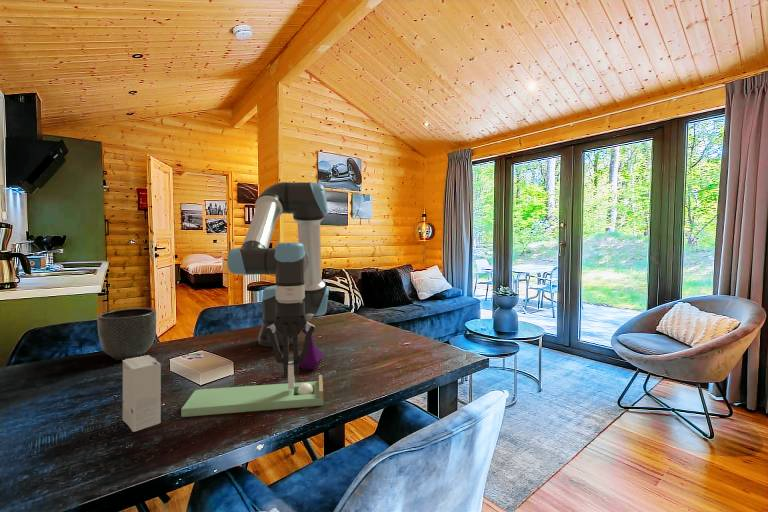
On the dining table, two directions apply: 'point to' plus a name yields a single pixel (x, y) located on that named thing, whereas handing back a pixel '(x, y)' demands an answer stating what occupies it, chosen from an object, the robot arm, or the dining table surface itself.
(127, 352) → the planter
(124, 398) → the skincare box
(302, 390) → the ball
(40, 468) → the dining table surface
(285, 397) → the green
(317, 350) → the perfume bottle
